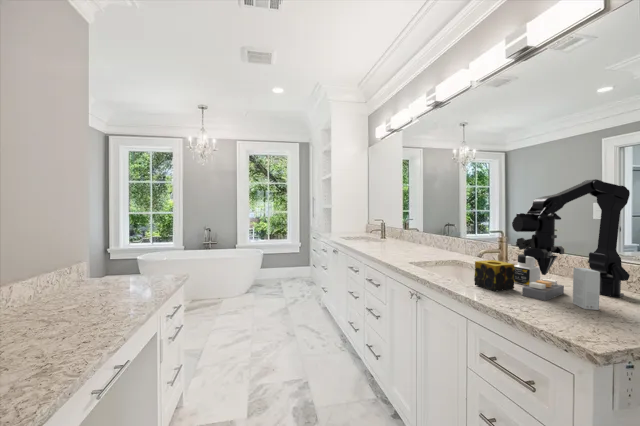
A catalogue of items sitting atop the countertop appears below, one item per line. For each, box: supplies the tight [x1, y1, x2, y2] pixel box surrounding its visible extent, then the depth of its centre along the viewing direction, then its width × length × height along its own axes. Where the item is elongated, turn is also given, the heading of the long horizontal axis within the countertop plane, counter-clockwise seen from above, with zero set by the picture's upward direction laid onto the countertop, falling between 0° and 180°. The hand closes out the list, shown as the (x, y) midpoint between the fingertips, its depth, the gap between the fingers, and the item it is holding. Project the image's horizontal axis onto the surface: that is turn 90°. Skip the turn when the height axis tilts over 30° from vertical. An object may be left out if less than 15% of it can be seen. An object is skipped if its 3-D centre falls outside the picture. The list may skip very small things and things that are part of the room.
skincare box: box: [572, 267, 601, 311], centre depth 96 cm, size 6×4×12 cm
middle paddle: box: [536, 279, 552, 287], centre depth 109 cm, size 3×4×1 cm, turn 33°
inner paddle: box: [541, 278, 558, 285], centre depth 111 cm, size 3×4×1 cm, turn 33°
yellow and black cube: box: [473, 259, 515, 292], centre depth 119 cm, size 10×10×10 cm
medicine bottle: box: [514, 253, 541, 286], centre depth 125 cm, size 7×7×12 cm
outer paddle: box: [529, 282, 546, 289], centre depth 106 cm, size 3×4×1 cm, turn 33°
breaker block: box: [521, 283, 565, 302], centre depth 109 cm, size 16×7×3 cm, turn 123°
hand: (543, 274), depth 109 cm, fingers closed
